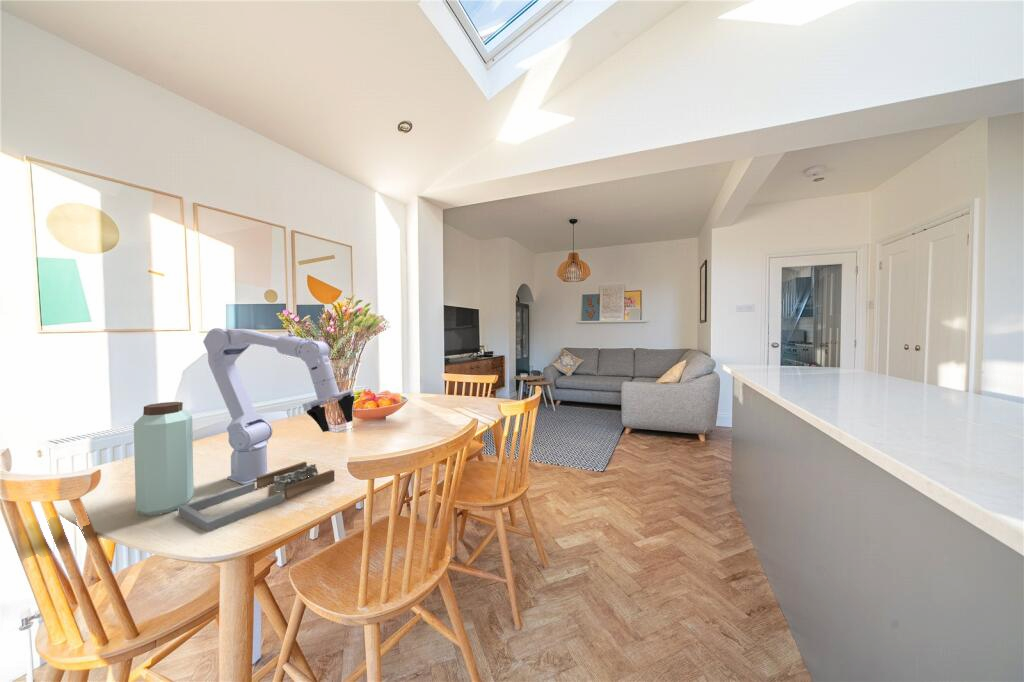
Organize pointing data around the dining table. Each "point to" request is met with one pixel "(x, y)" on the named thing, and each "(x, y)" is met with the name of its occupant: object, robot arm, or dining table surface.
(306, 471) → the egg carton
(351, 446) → the dining table surface
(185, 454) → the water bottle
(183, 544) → the dining table surface
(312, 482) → the walnut rack
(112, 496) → the dining table surface
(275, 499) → the grey bay
